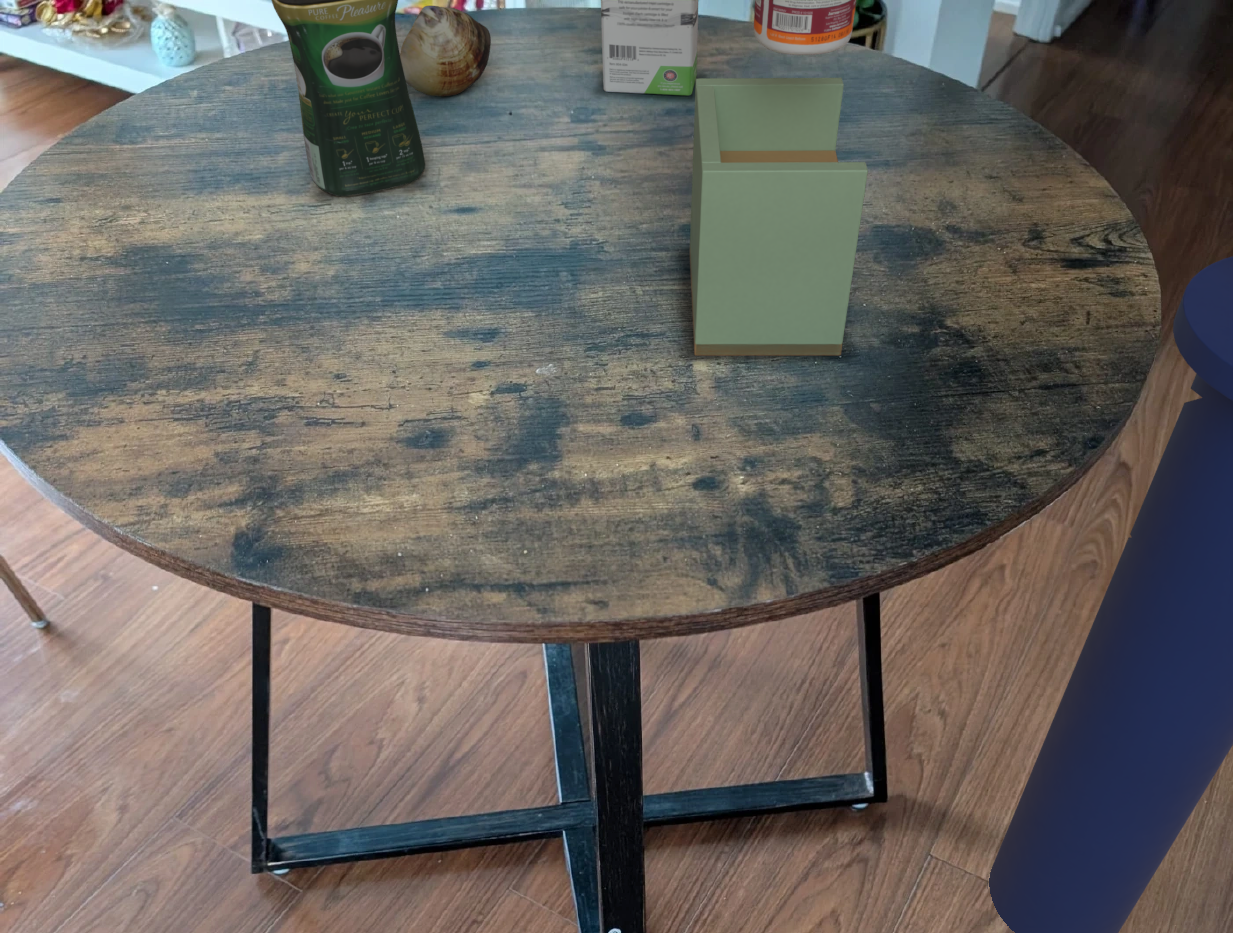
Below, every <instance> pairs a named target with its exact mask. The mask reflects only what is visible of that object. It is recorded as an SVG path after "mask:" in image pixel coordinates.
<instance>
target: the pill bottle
mask: <svg viewBox="0 0 1233 933" xmlns="http://www.w3.org/2000/svg"><path fill="white" fill-rule="evenodd" d="M856 5H857V0H754V12H753V34H754V38H755V40H756V41H757V42H758V43H759V44H760V45H761V46H763V47H764V48H766V49H767V50H770V51H771V52H775V53H778V54H783V55H790V56H791V55H792V56H814V55H815V56H816V55H817V56H818V55H822V54H823V55H824V54H830V53H832V52H835V51H838V50H840V49H842V48H843V47H845V46H846V45H847V44H848V43H849V42H850V39H851V37H852V34H853V28H854V21H855V15H856V14H855V13H856Z"/></svg>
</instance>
